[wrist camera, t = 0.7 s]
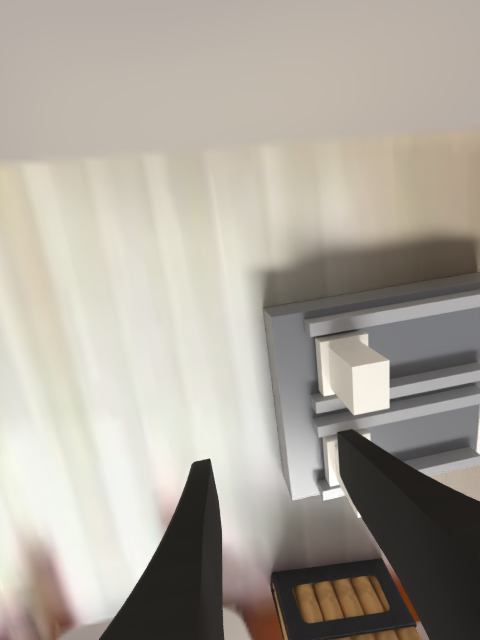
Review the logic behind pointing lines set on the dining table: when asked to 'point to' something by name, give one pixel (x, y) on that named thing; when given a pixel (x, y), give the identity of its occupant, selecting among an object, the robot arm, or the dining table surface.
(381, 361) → the tab near
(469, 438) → the switch bank
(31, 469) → the dining table surface
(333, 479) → the tab far
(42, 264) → the dining table surface
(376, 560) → the ammunition clip
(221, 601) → the robot arm
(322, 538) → the dining table surface
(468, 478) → the dining table surface
